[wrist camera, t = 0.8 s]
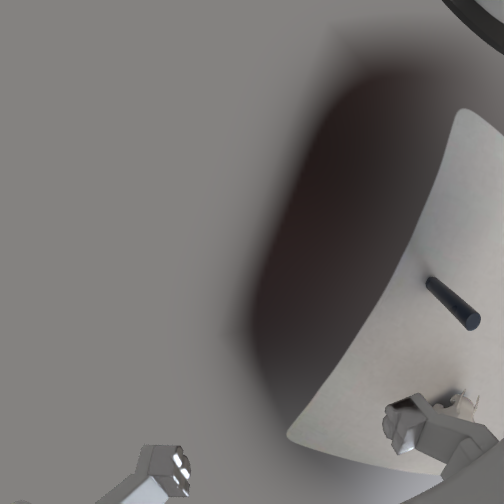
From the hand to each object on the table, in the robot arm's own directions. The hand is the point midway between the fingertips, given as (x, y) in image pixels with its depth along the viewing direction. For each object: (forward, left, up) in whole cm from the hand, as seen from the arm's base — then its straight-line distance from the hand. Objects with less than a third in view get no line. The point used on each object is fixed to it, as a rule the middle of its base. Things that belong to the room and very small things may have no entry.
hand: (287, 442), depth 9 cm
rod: (+4, +15, -26) cm, 30 cm away
